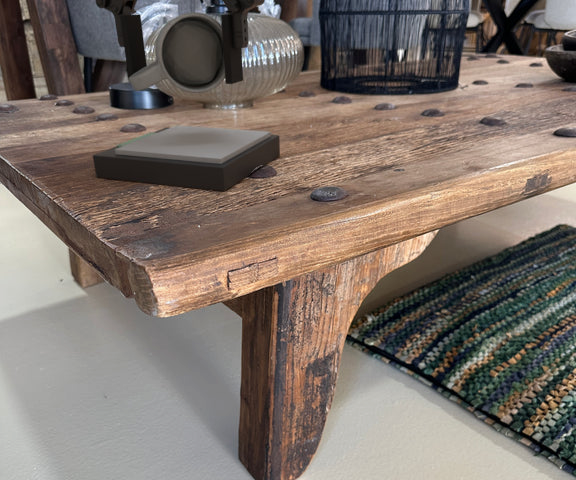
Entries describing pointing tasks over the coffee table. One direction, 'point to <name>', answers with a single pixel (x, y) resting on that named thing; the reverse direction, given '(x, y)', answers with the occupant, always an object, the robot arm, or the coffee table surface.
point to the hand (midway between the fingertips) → (185, 80)
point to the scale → (189, 157)
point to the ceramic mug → (186, 55)
